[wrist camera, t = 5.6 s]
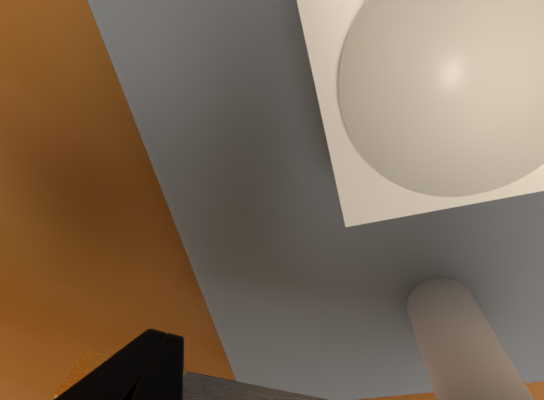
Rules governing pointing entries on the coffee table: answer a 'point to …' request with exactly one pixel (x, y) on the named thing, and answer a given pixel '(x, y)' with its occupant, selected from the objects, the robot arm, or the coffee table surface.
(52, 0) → the coffee table surface
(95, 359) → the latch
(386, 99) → the beige cube
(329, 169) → the board
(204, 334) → the coffee table surface
